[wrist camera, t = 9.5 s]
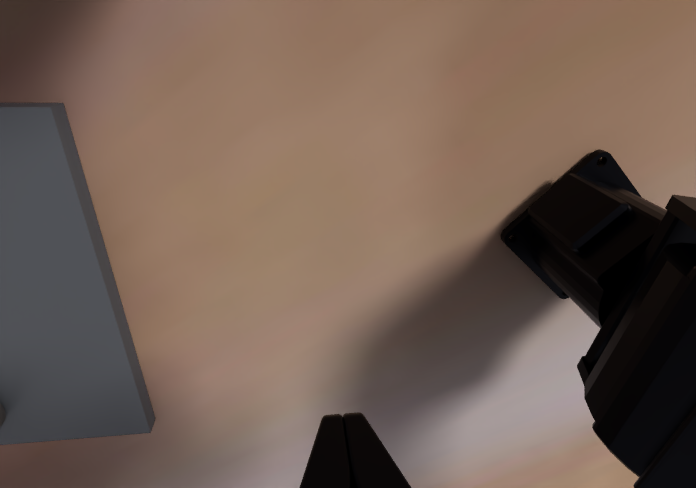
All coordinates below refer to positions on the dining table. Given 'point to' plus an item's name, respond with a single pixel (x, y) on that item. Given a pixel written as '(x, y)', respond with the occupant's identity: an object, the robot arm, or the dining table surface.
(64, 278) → the dial plate
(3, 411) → the lever
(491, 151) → the dining table surface
